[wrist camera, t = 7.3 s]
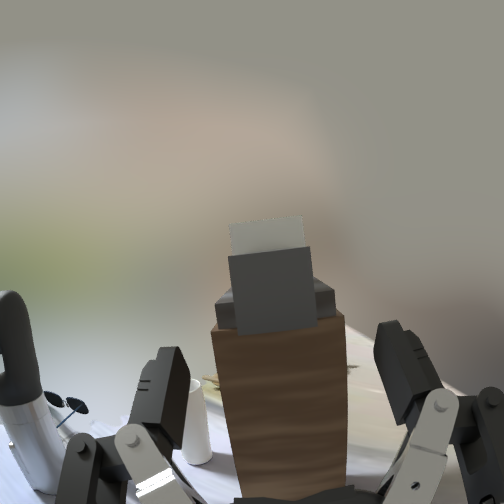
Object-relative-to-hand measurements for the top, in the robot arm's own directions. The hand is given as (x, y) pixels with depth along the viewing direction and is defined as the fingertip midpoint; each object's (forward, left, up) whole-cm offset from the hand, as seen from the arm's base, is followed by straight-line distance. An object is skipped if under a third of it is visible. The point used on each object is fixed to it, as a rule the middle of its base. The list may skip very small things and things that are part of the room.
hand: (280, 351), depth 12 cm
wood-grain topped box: (+9, +15, -31) cm, 35 cm away
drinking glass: (+2, +35, -31) cm, 47 cm away
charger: (+6, +10, 0) cm, 11 cm away
